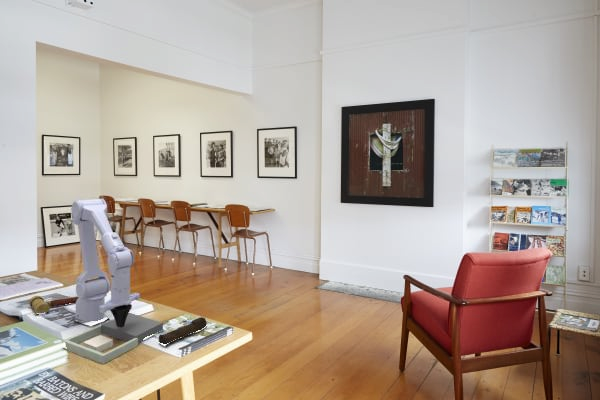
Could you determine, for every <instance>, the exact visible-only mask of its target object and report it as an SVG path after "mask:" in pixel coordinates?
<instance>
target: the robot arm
mask: <svg viewBox="0 0 600 400" xmlns="http://www.w3.org/2000/svg"><path fill="white" fill-rule="evenodd" d="M107 214H108V205H107V202H106V200H105V199H104V198H95V199H80V200H79V199H75V200H74V201H73V202H72V204H71V217H72V224H74V225H76V226H77V228H78V237H79V243H80V253H81V259H82V266H83V272H81V273H80V274H79V275H78V276H77V278H76V279H75V280H76V281H75V282H76V286H75V291H76V292H75V293H76V295H77V296H76V297H79V298H78V299H77V301H76V304H75V319H76V318H78V319H81V320H83V321H86V322H90V321H98V320H101V319H103V318H104V317H106V316H105V314H106V313H107V312H108V311H110V312H111V314H112V316H113V319H115V322H116V325H117V327H120V328H121V327H124V325H125V321H126V318H127V315H128V313H130V312H131V309H132V308H133V305H132V302H133V301H139V300H140V298H141V294H140V293H138V292H134V293H131V267H132V266H133V265H134V262H135V257H134V253H133V251H132V249H129V248H128V247H127V246H125V244H124V243H123V242H122V240H121V238H120V235H119V234H118V233H117V232H113V229H112V227H111V225H110V221H109V219H108V216H107ZM94 227H95V228H96V230H97V231H98V233H99V234H100V236H101V239H100V243H101V245H102V247H103V249H104V251H105V254H106V256H107V259H106V261H107V267H108V271H109V274H110V280H109V277H108V273H107V272H106V271H103V270H102V269H100V263H99V256H98V248H97V241H96V233H95V228H94ZM109 292H110V299H109V300H108V301H107V302H105V300H106V299H105V298H106V297H107V296H108V295H107V294H108V293H109Z"/></svg>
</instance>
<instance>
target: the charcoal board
mask: <svg viewBox="0 0 600 400" xmlns="http://www.w3.org/2000/svg"><path fill="white" fill-rule="evenodd" d="M100 326H101V333H100V334H103V335H105V336H108V337H111V338H114V339H117V340H121V341H123V342H125V343H126V342H128V341H130V340H132V339H134V338H138V345H139V344H141V343H142V342H144V341H143V339H144V338H145V337H147V336H150V335H152V334H155V333H157V332H159V331H161V330H163V331H164V329H163V327H164V323H163V322H162V321H158V320H155V319H151V318H148V317H145V316H142V315H138V314H135V313H133V312H132V313H131V312H129V313H128V315H127V318H126V321H125V325H124V327H121V328H120V327H117V325H116V322H115V319H114V318H113V319H110V320H108V321H105V322H103V323H100Z"/></svg>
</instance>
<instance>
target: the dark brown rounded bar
mask: <svg viewBox="0 0 600 400" xmlns="http://www.w3.org/2000/svg"><path fill="white" fill-rule="evenodd" d="M207 323H208V321H207V320H206V318H205V317H202V316H201V317H198V318H194V319H192V320H191V323H189V324H186V325H184V326H180V327H179V328H176V329H174V330H171V331H169V332H166V333H164V334H159V335H158V343H159V342H160V343H163V344H167V343H169V342H171V341H173V340H175V339H178V338H180V337H183V336H186V335H188V334H190V333H192V334H194V333H193V332H196V331H198V330H201V329H202V328H204V327H205V326H206V325H207ZM206 327H207V326H206ZM190 335H191V334H190ZM188 336H189V335H188ZM186 337H187V336H186ZM183 338H184V337H183ZM160 343H159V344H160Z"/></svg>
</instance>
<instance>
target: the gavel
mask: <svg viewBox="0 0 600 400" xmlns="http://www.w3.org/2000/svg"><path fill="white" fill-rule="evenodd" d="M78 298H79V297H78V296H74V297H73V296H72V297H67V298H59V299H53V300H49V301H45V300H44V298H43V297H42V296H40V295H35V296H32V297H31V298H30V300H28V304H29V306H30V308H32V307H33V308H34V309H33V308H32V309H33V311H34V312H35V314H36V313H44V312H48V313H49V312H50V309H51V307H53V308H55V307H54V306H56V307H60V306H59V305H63V306H66V305H65V304H69V303H76V301H77V299H78Z"/></svg>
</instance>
